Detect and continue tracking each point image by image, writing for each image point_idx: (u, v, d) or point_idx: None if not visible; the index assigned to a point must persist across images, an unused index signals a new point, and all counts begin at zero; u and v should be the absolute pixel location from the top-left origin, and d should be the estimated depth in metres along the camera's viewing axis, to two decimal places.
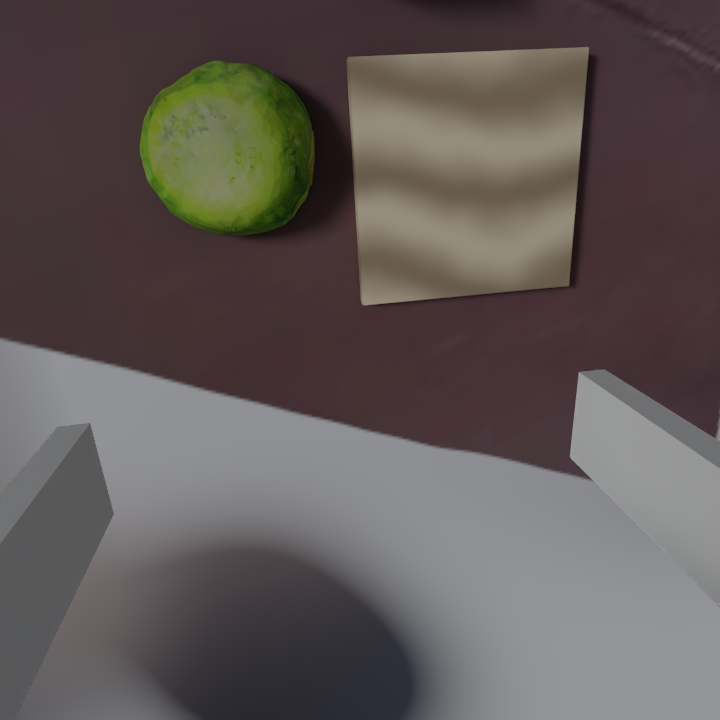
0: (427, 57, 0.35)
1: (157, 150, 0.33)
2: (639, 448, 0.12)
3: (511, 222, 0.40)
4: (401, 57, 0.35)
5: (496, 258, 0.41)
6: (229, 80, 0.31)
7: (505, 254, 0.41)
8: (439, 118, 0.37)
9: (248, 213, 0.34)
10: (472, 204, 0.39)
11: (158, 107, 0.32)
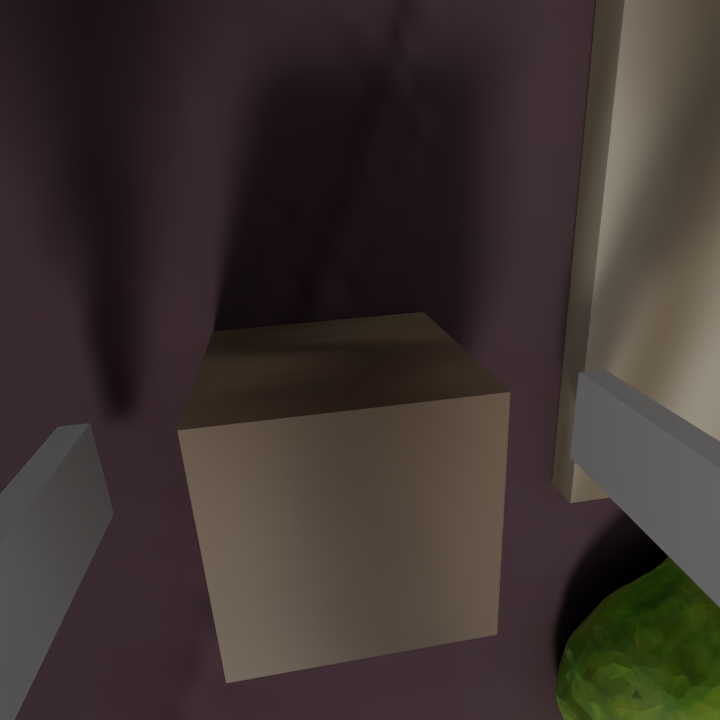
0: (593, 345, 0.15)
1: None
2: (638, 448, 0.12)
3: None
4: None
5: None
6: None
7: None
8: (718, 307, 0.15)
9: None
10: None
11: None
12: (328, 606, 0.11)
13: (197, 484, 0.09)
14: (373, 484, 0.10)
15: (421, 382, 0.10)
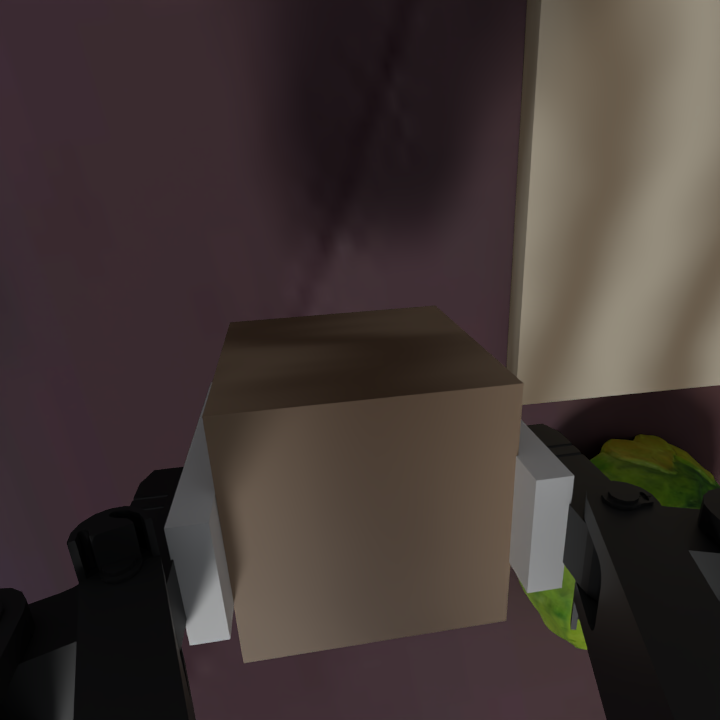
0: (527, 285, 0.21)
1: None
2: None
3: None
4: (523, 328, 0.22)
5: None
6: (570, 587, 0.23)
7: None
8: (619, 259, 0.21)
9: None
10: None
11: (579, 646, 0.26)
12: (343, 590, 0.11)
13: (220, 469, 0.10)
14: (389, 471, 0.10)
15: (436, 373, 0.11)
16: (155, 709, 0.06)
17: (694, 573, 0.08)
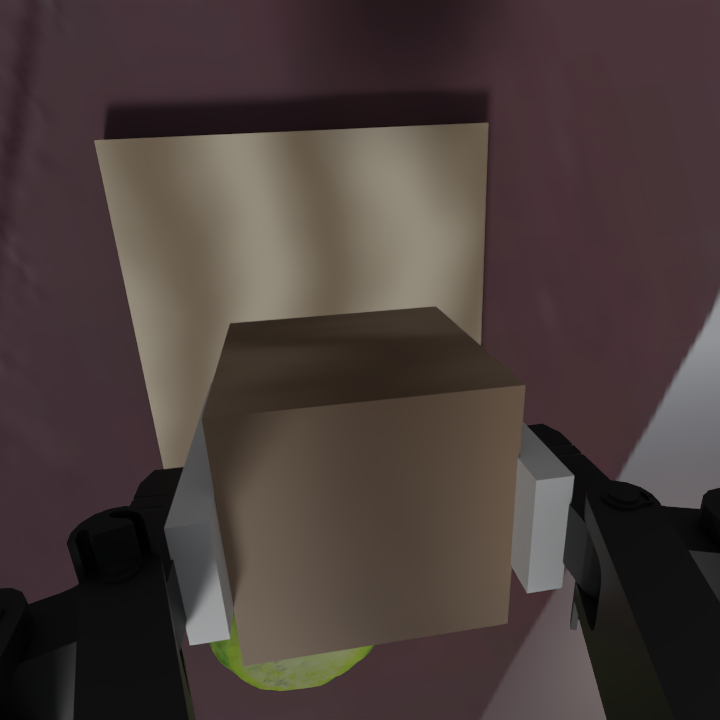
0: (152, 395, 0.26)
1: (299, 686, 0.30)
2: None
3: (375, 246, 0.25)
4: (158, 428, 0.26)
5: (429, 265, 0.25)
6: (222, 640, 0.28)
7: (424, 250, 0.25)
8: None
9: None
10: (346, 313, 0.26)
11: None
12: (344, 592, 0.11)
13: (219, 471, 0.10)
14: (390, 474, 0.10)
15: (437, 375, 0.11)
16: (155, 709, 0.06)
17: (694, 573, 0.08)
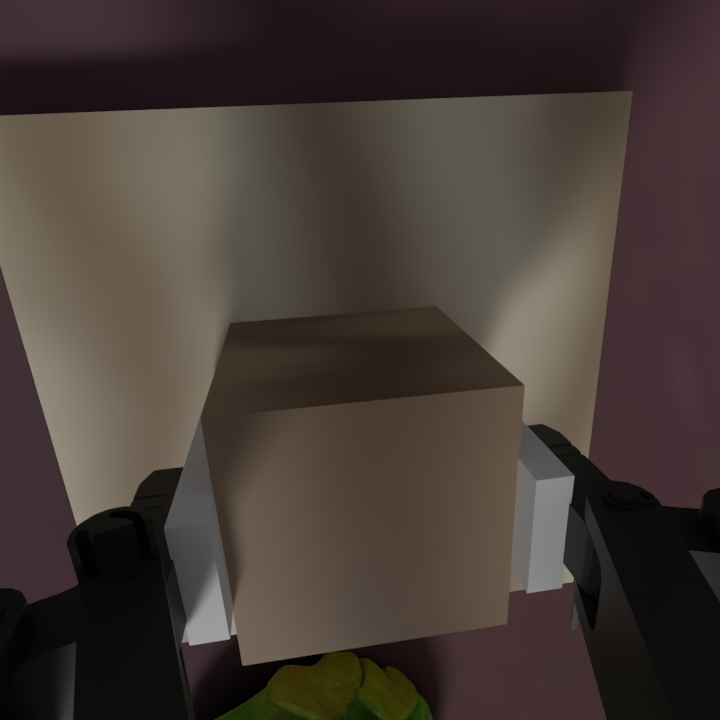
0: None
1: None
2: None
3: (438, 293, 0.15)
4: None
5: (522, 321, 0.16)
6: None
7: (515, 299, 0.16)
8: None
9: None
10: None
11: None
12: (343, 593, 0.11)
13: (218, 471, 0.10)
14: (389, 474, 0.10)
15: (436, 375, 0.11)
16: (155, 709, 0.06)
17: (694, 573, 0.08)
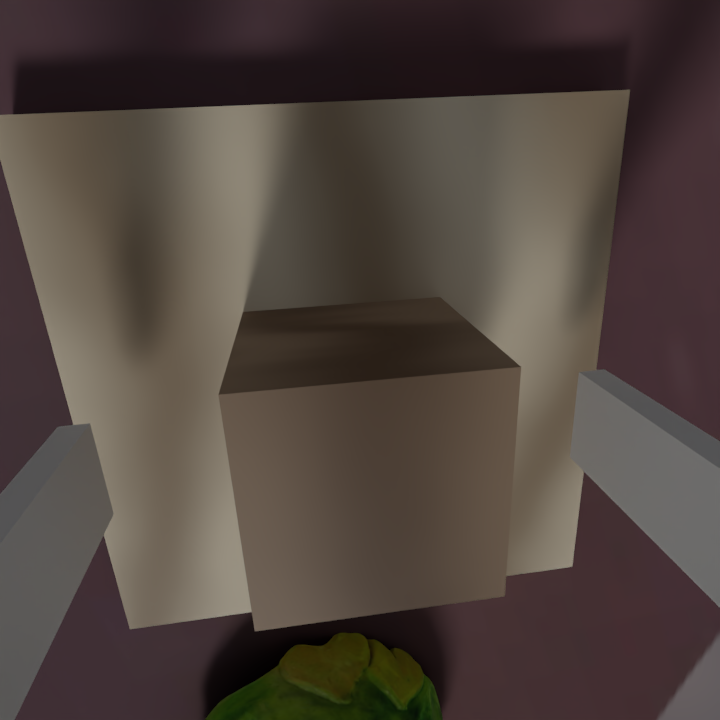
0: None
1: None
2: (639, 448, 0.12)
3: (441, 284, 0.16)
4: (112, 549, 0.18)
5: (522, 312, 0.17)
6: None
7: (516, 290, 0.16)
8: (218, 471, 0.17)
9: None
10: None
11: None
12: (350, 563, 0.12)
13: (234, 445, 0.10)
14: (393, 450, 0.11)
15: (438, 358, 0.11)
16: None
17: None
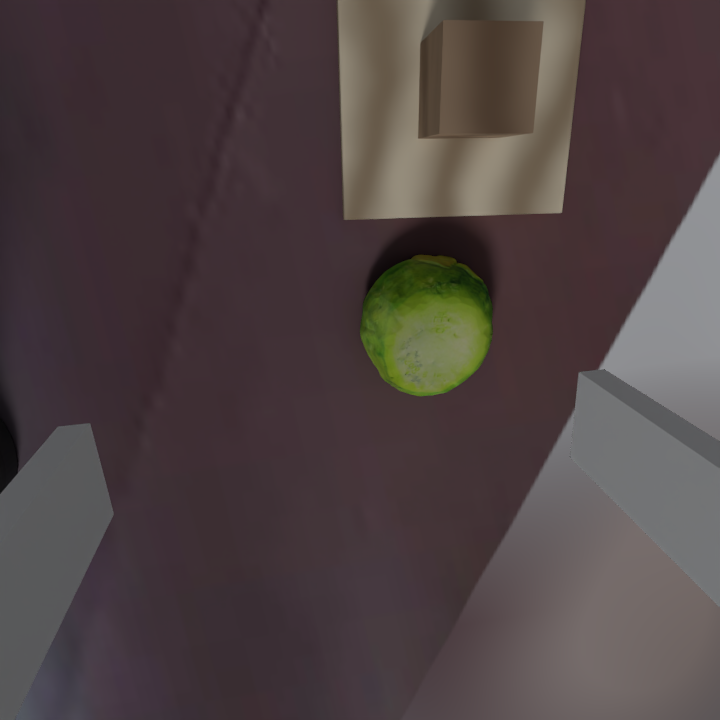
0: (345, 141, 0.37)
1: (426, 387, 0.42)
2: (639, 448, 0.12)
3: None
4: (345, 168, 0.38)
5: (542, 55, 0.37)
6: (383, 331, 0.39)
7: None
8: (398, 128, 0.37)
9: (482, 324, 0.40)
10: None
11: (397, 383, 0.41)
12: (477, 104, 0.32)
13: (445, 42, 0.30)
14: (497, 52, 0.31)
15: None
16: None
17: None
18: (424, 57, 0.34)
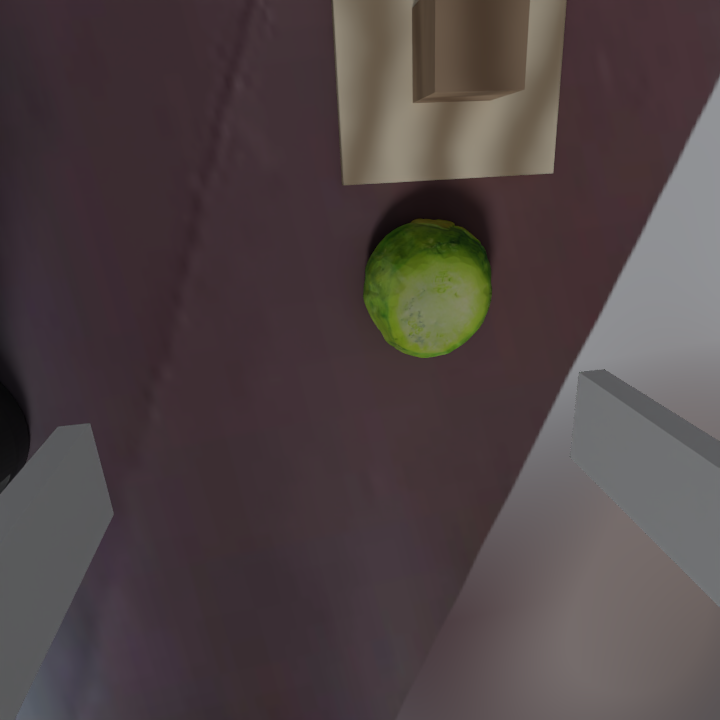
0: (342, 107, 0.38)
1: (430, 347, 0.43)
2: (639, 448, 0.12)
3: None
4: (342, 134, 0.39)
5: (529, 18, 0.38)
6: (386, 293, 0.40)
7: None
8: (393, 93, 0.38)
9: (482, 283, 0.41)
10: None
11: (401, 344, 0.43)
12: (470, 62, 0.33)
13: (438, 1, 0.31)
14: (488, 11, 0.32)
15: None
16: None
17: None
18: (416, 21, 0.36)
